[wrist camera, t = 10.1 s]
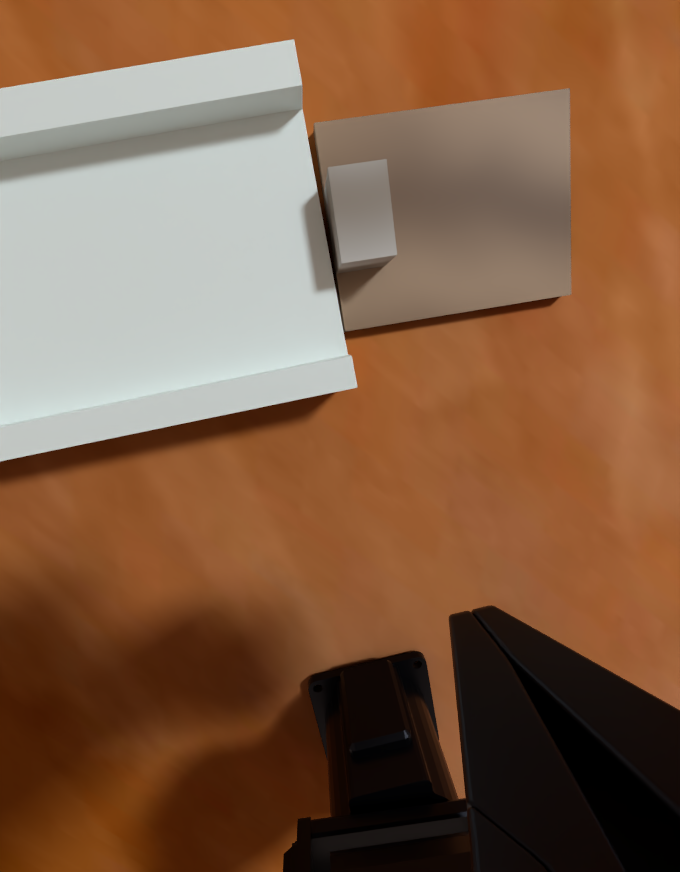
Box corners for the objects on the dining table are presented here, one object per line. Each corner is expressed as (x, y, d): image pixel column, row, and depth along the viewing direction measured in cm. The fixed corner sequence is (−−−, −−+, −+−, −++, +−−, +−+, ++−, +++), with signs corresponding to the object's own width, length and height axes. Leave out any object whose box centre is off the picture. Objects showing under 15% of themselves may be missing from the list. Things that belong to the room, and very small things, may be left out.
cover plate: (553, 297, 18) (609, 287, 15) (342, 332, 18) (351, 330, 14) (550, 106, 16) (614, 46, 13) (313, 138, 16) (315, 85, 12)
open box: (348, 379, 18) (357, 387, 15) (-34, 458, 17) (-99, 481, 14) (295, 94, 15) (294, 39, 12) (-167, 174, 14) (-279, 135, 11)
